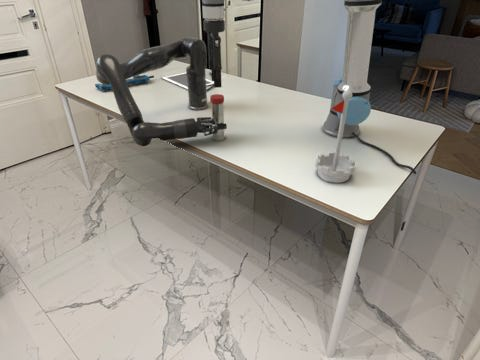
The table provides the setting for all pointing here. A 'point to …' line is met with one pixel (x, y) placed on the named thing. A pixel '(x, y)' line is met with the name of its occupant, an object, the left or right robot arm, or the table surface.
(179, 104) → the table surface
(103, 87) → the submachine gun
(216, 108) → the jar
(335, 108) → the flag stand
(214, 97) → the lid
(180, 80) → the tablet
